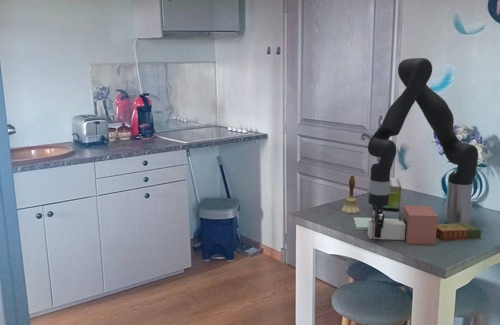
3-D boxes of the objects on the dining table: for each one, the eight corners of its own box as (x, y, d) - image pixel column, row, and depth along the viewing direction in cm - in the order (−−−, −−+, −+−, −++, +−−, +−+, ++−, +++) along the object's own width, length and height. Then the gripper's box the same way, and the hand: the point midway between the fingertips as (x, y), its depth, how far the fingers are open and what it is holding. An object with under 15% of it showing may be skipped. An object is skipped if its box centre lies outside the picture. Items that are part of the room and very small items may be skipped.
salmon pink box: (427, 233, 196) (429, 206, 194) (435, 244, 184) (437, 216, 182) (400, 232, 197) (402, 205, 195) (406, 243, 185) (408, 215, 183)
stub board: (397, 221, 209) (397, 218, 209) (403, 231, 198) (403, 228, 197) (353, 220, 211) (353, 217, 211) (356, 229, 199) (356, 227, 199)
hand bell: (343, 207, 229) (344, 172, 226) (361, 209, 226) (363, 174, 223) (339, 212, 222) (340, 177, 218) (358, 214, 219) (360, 178, 215)
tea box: (399, 220, 211) (401, 186, 208) (374, 218, 213) (376, 184, 210) (396, 209, 226) (398, 177, 222) (373, 208, 228) (375, 176, 224)
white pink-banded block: (402, 235, 193) (403, 220, 192) (404, 240, 189) (405, 224, 187) (367, 234, 194) (368, 219, 193) (369, 238, 190) (370, 223, 188)
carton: (430, 234, 196) (431, 223, 195) (468, 232, 198) (469, 221, 198) (441, 241, 188) (442, 231, 187) (480, 239, 190) (482, 228, 189)
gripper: (393, 197, 181) (389, 242, 184) (386, 186, 195) (383, 229, 198) (371, 196, 181) (369, 241, 185) (366, 186, 195) (364, 228, 199)
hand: (376, 234), depth 192 cm, fingers closed on white pink-banded block, 4 cm apart
